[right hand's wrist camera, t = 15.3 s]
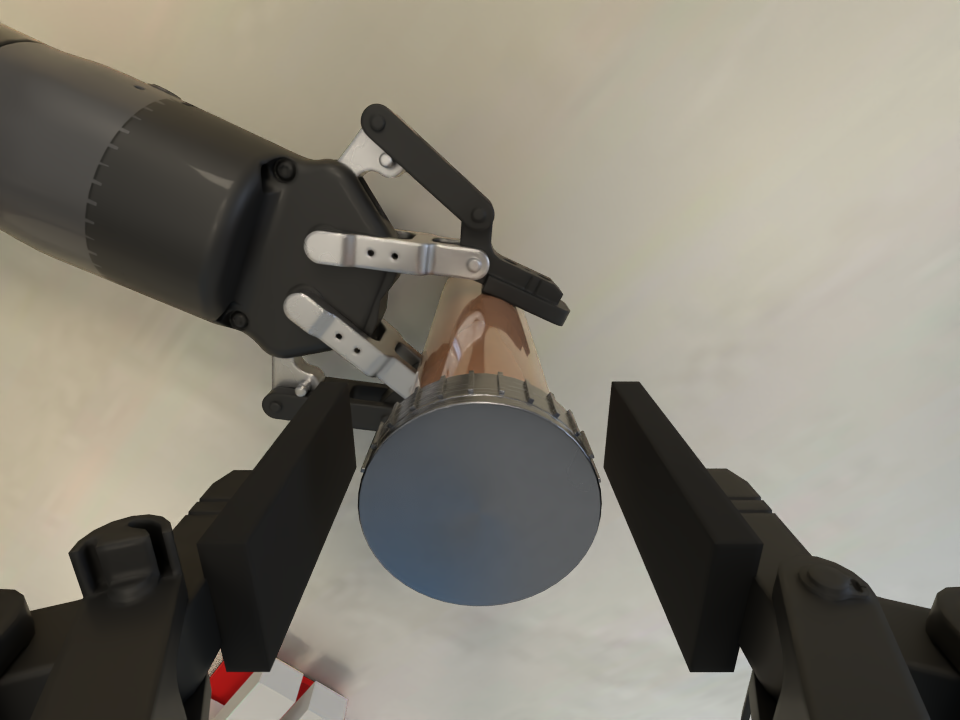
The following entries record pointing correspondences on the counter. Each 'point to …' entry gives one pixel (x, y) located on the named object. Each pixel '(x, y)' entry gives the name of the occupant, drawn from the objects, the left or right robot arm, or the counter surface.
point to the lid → (479, 491)
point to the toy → (272, 696)
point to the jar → (477, 338)
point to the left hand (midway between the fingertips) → (535, 362)
